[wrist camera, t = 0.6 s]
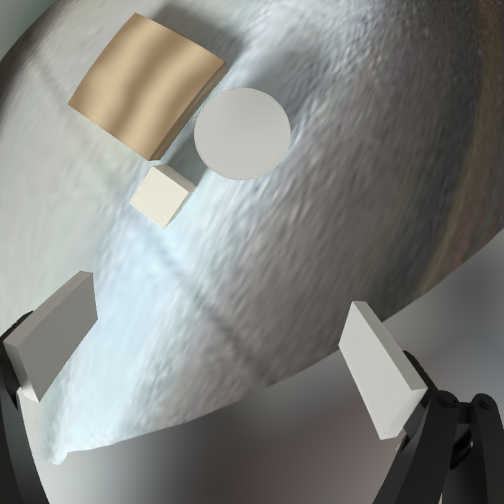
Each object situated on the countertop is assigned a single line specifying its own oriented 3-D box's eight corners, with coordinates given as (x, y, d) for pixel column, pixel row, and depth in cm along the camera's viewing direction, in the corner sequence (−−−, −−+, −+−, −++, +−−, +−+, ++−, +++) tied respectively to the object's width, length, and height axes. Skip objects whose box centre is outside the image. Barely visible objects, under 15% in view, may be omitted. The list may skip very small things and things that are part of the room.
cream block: (145, 195, 36) (129, 203, 31) (166, 164, 35) (152, 166, 30) (175, 217, 38) (164, 228, 32) (197, 186, 36) (189, 192, 31)
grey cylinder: (199, 158, 35) (179, 159, 24) (224, 99, 33) (217, 74, 22) (259, 182, 36) (267, 194, 25) (285, 124, 34) (305, 110, 23)
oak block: (85, 108, 32) (67, 104, 27) (146, 26, 29) (135, 12, 24) (159, 159, 35) (148, 160, 30) (227, 72, 32) (225, 61, 27)
